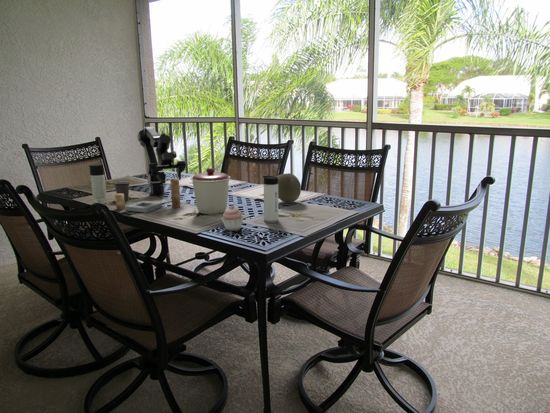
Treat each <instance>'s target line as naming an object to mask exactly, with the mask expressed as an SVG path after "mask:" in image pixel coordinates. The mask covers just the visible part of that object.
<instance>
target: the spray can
mask: <svg viewBox="0 0 550 413" xmlns="http://www.w3.org/2000/svg"><path fill="white" fill-rule="evenodd" d="M88 167H89V176H90V184H91V185H90V186H91V193H92V200H93V201H92V202H93V204H94V203H103V204H102V205H106V204H108V197H107V196H108V195H107V188H106V178H105V176H106V175H105V168H104V164H103V163H93V164H89V166H88Z"/></svg>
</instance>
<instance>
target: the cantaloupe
mask: <svg viewBox="0 0 550 413" xmlns="http://www.w3.org/2000/svg"><path fill="white" fill-rule="evenodd" d="M276 177H277V178H278V200H279V201H281V202H284V203H293V202H296V201H297V200H298V199H299V198H300V196H301V192H302V190H301V188H302V185H301V182H300V180H299V179H298V177H297V176H296V175H295V174H293V173H281V174H278V175H276Z"/></svg>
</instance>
